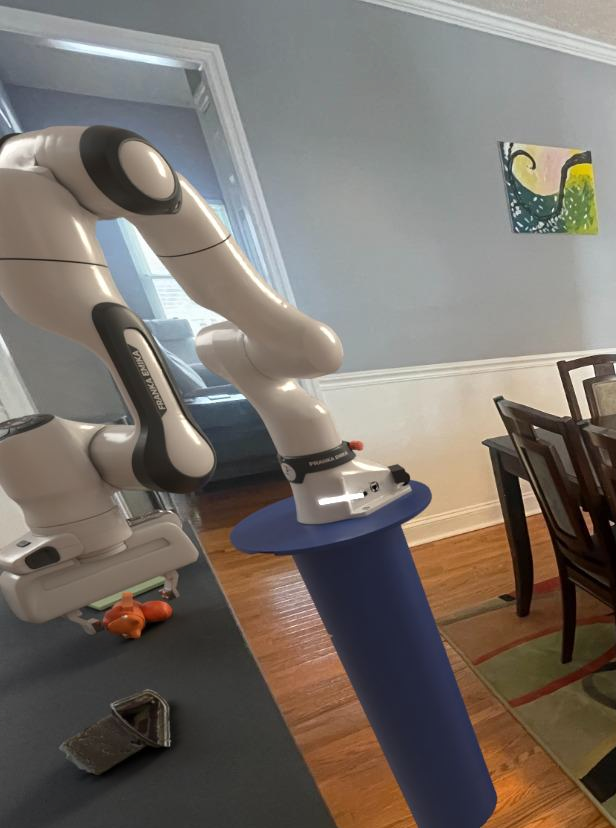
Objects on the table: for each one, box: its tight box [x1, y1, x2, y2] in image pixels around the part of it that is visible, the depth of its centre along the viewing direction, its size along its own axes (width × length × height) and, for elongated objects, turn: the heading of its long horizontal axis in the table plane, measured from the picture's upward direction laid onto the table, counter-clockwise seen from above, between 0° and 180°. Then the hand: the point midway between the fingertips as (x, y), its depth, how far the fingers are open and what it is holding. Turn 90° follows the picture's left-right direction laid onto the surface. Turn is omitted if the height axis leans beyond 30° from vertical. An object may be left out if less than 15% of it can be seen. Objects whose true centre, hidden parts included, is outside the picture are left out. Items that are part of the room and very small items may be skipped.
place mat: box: [86, 576, 165, 611], centre depth 103 cm, size 10×14×1 cm
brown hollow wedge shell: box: [58, 688, 172, 776], centre depth 68 cm, size 10×7×12 cm
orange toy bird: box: [101, 592, 173, 639], centre depth 91 cm, size 5×8×12 cm
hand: (136, 614), depth 90 cm, fingers open, 8 cm apart
